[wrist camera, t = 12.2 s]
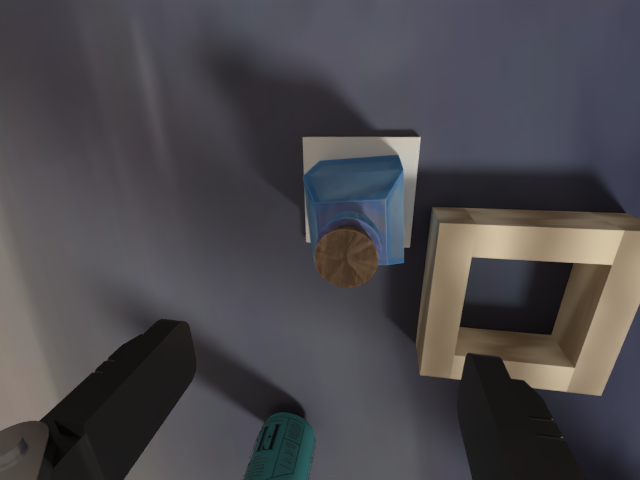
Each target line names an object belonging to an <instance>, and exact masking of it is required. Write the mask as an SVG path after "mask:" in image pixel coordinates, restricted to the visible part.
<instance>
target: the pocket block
mask: <svg viewBox="0 0 640 480" xmlns="http://www.w3.org/2000/svg"><path fill="white" fill-rule="evenodd" d="M472 257H479V258H497V259H514V260H532V261H550V262H568V263H573V267H572V270H571V273H570V276H569V280H568V283H567V286H566V289H565V292H564V296H563V299H562V302H561V305H560V309H559V312H558V315H557V318H556V321H555V325H554V328H553V331H552V334H551V335H544V334H532V333H521V332H510V331H499V330H488V329H477V328H465V327H459V326H460V320H461V314H462V309H463V303H464V297H465V292H466V286H467V281H468V275H469V269H470V264H471V258H472ZM639 304H640V219H638V218H636V217H634V216H632V215H629V214H627V213H603V212H573V211H543V210H513V209H483V208H453V207H432V211H431V219H430V228H429V236H428V245H427V253H426V262H425V270H424V278H423V287H422V295H421V304H420V312H419V320H418V329H417V337H416V350H417V358H418V365H419V372H420V375H424V376H433V377H441V378H450V379H459V380H461V377H462V372H463V367H464V362H465V357H466V355H467V353H476V354H485V355H495V356H500V357H501V359H502V360H503V362H504V364H505V367H506V369H507V371H508V373H509V375H510V378H511V379H519V380H524V381H525V382H526V383H527V384H528V385H529V386H530V387H531V388H537V389H546V390H555V391H564V392H572V393H581V394H590V395H599V396H601V395H602V393H603V390H604V388H605V385H606V383H607V381H608V378H609V376H610V373H611V371H612V369H613V366H614V364H615V361H616V359H617V357H618V354H619V352H620V349H621V347H622V345H623V342H624V340H625V337H626V335H627V333H628V330H629V328H630V325H631V323H632V321H633V318H634V316H635V313H636V311H637V309H638V306H639Z"/></svg>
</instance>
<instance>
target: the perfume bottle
mask: <svg viewBox="0 0 640 480" xmlns="http://www.w3.org/2000/svg"><path fill="white" fill-rule="evenodd" d="M303 183H304V192H305V200H306V208H307V217H308V225H309V234H310V242H311V251H312V259H313V264H315V265H316V269H317V270H318V272H319V273H320V274H321V276H322V277H323V278H324V279H326V280H327V281H328V282H329V283H332V284H334V285H336V286H340V287H347V288H349V287H356V286H359V285H361V284H363V283H366V282H367V281H368V280H369V279H370V278H371V277H372V276H373V275H374V273H375V271H376V269H377V266H378V265H391V264H400V263H404V173H403V166H402V163H401V160H400V157H399V155H387V156H374V157H361V158H348V159H335V160H322V161H319V162H318V163H316V164H315V165H314V166H313V167H312V168H311V169H310V170H309V171H308V172H307V173H306V174H305V175H303Z"/></svg>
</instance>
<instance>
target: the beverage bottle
mask: <svg viewBox="0 0 640 480" xmlns="http://www.w3.org/2000/svg"><path fill="white" fill-rule="evenodd" d="M262 425H263V424H262ZM259 433H260V436H259V435H258V436H259V438H258V437H257V440H256V441H257V444H256V447H255V449H254V452H253V455H252V458H251V460H250V463H249V464H248V465H247V466H248V469H247V468H246V469H247V470H246V471H247V472H246V471H245V472H246V474H244V475H245V477H244V480H308V475H310V474H309V470H310V472H311V469H310V464H311V462H312V461H313V460H312V461H311V459H313V458H312V454H314V452H313V448H314V443H315V441H316V440H315V436H314V431H313V428H312V427H311V425H310V424H309V423H308V422H307V421H306V420H305V419H303V418H301V417H300V416H297V415H295V414H291V413H285V412H281V413H275V414H273V415H271V416H270V417H269V418H268V419H267V420H266V422H265V423H264V425H263V426H262V430H261V432H260V431H259ZM255 443H256V442H255ZM254 446H255V445H254ZM314 449H315V448H314ZM251 454H252V453H251ZM242 480H243V479H242Z"/></svg>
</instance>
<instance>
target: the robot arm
mask: <svg viewBox="0 0 640 480" xmlns="http://www.w3.org/2000/svg"><path fill="white" fill-rule="evenodd" d="M195 371H196V357H195V352H194V347H193V342H192V337H191V332H190V327H189V325H188V323H187V322H185V321H176V320H167V319H161V320H158V321H157V322H156V323H155V324H154V325H153V326H151V327H150V328H149V329H148V330H147V331H146V332H145V333H144V334H140V335H139V336H137V337H135V338H134V339H132V340H130V341H128V342H127V343H125V344H123V345H122V346H121V347H120V348H118V349H117V350H116V351H115V352H114V353H113V354H112V355H111V356H110V357H109V358H108V360H107V361H104V362H103V363H102V364H101V365H100V366H99V367H98V368H97V369H96V371H95V373H91V374H90V375H89V376H88V377H87V378H86V379H85V380H84V381H83V382H81V383H80V384H79V385H78V386H77V387H76V388H75V389H74V390H73V391H72V392H71V393H70V394H68V395H67V396H66V397H65V398H64V399H63V400H62V401H61V402H60V403H59V404H58V405H56V406H55V407H54V408H53V409H52V410H51V411H50V412H49V413H48V414H47V415H46V416H44V417H43V418H42V419H41V420H40V421H27V422H22V423H19V424H16V425H13V426H10V427H8V428H6V429H4V430H2V431H0V480H124V478H125V477H126V475H127V474H128V472H129V471H130V470H131V468H132V467H133V465H134V464H135V462H136V461H137V459H138V458H139V457H140V455H141V454H142V452H143V451H144V449H145V448H146V447H147V445H148V444H149V442H150V441H151V439H152V438H153V436H154V435H155V434H156V432H157V431H158V429H159V428H160V426H161V425H162V424H163V422H164V421H165V419H166V418H167V416H168V415H169V413H170V412H171V411H172V409H173V408H174V406H175V405H176V403H177V402H178V401H179V399H180V398H181V396H182V395H183V393H184V392H185V390H186V389H187V388H188V386H189V385H190V383H191V382H192V380H193V377H194V375H195ZM457 410H458V419H459V424H460V428H461V433H462V437H463V441H464V446H465V450H466V454H467V458H468V463H469V467H470V471H471V475H472V480H586V479H585V477H584V475H583V473H582V472H581V470H580V468H579V466H578V464H577V462H576V460H575V459H574V457H573V455H572V453H571V451H570V449H569V447H568V445H567V444H566V442H564V441H563V436H562V434H561V432H560V430H559V429H558V427H557V425H556V423H554V422H553V417H552V416H551V414H550V412H549V410H548V408H547V406H546V404H545V402H544V401H543V399H542V398H541V397H540V396H539V395H538V394H537V393H536V392H535V391H534V390H533V389H532V388H531V387H530V386H529V385H528V384H527V383H526V382H525V381H524V380H519V379H511V378H510V375H509V373H508V371H507V369H506V367H505V364H504V362H503V360H502V359H501V357H500V356H495V355H485V354H476V353H467V355H466V357H465V362H464V367H463V372H462V377H461V382H460V387H459V393H458V400H457Z"/></svg>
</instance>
